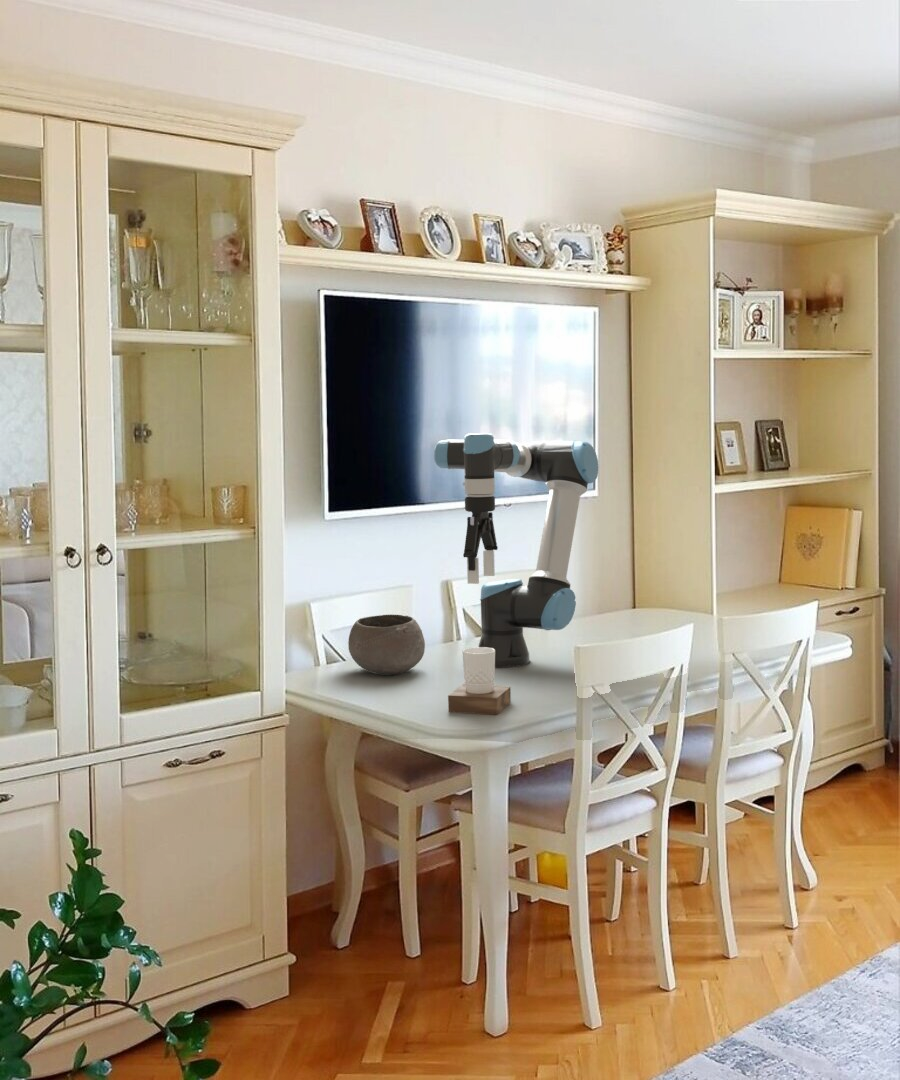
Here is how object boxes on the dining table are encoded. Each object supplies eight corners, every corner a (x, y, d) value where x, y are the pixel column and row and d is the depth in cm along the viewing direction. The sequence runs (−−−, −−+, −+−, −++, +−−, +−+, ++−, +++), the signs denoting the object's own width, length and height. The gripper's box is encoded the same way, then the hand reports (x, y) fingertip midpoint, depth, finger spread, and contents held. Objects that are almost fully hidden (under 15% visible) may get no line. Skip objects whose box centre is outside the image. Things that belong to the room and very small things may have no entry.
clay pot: (423, 680, 332) (422, 624, 331) (345, 681, 333) (343, 626, 331) (427, 663, 353) (426, 611, 352) (353, 665, 354) (352, 612, 352)
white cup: (500, 693, 299) (499, 652, 298) (469, 696, 297) (468, 654, 296) (489, 686, 307) (489, 646, 306) (459, 689, 305) (458, 648, 304)
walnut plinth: (463, 700, 310) (463, 684, 310) (510, 702, 306) (510, 686, 306) (448, 711, 299) (448, 695, 298) (496, 714, 295) (496, 698, 295)
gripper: (480, 491, 326) (481, 572, 329) (449, 499, 303) (451, 586, 305) (507, 491, 324) (509, 572, 326) (479, 499, 300) (481, 587, 303)
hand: (481, 579), depth 316 cm, fingers open, 13 cm apart
